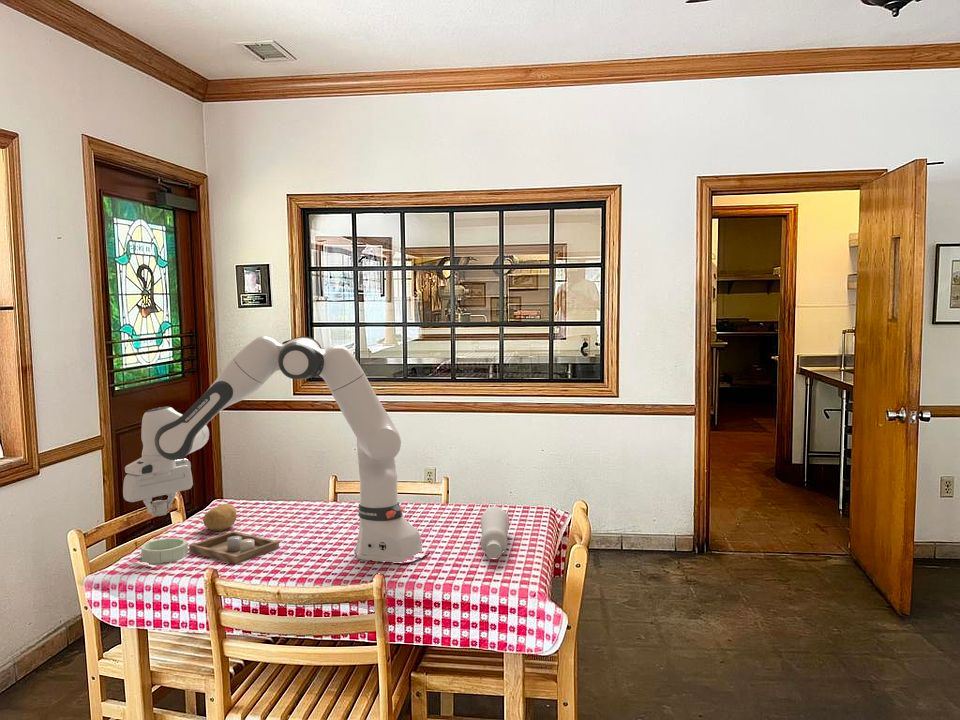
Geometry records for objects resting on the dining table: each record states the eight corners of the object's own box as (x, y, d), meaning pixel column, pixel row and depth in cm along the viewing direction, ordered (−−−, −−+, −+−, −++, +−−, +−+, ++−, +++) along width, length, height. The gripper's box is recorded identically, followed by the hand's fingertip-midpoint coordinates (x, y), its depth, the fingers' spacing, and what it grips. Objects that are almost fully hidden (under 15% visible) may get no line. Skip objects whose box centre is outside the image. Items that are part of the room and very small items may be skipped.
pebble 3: (257, 552, 207) (257, 540, 207) (246, 556, 203) (246, 543, 203) (248, 550, 209) (247, 538, 209) (237, 553, 205) (236, 541, 205)
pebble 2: (244, 549, 210) (244, 537, 209) (233, 552, 206) (233, 540, 206) (235, 546, 212) (235, 535, 212) (224, 550, 208) (224, 538, 208)
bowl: (196, 555, 206) (195, 542, 206) (159, 567, 195) (158, 553, 195) (170, 548, 212) (169, 535, 212) (132, 560, 202) (132, 546, 201)
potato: (244, 523, 238) (243, 500, 238) (226, 536, 224) (226, 511, 224) (216, 523, 239) (215, 500, 238) (196, 535, 225) (196, 511, 224)
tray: (279, 549, 211) (278, 541, 211) (235, 565, 197) (235, 556, 197) (233, 539, 221) (233, 531, 221) (189, 553, 207) (189, 545, 207)
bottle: (475, 522, 229) (471, 555, 199) (491, 499, 228) (489, 529, 198) (498, 537, 229) (498, 573, 199) (514, 514, 228) (516, 547, 198)
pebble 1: (170, 513, 204) (170, 501, 204) (157, 516, 201) (157, 504, 201) (161, 511, 206) (161, 499, 206) (149, 514, 203) (149, 502, 203)
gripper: (183, 456, 213) (184, 501, 214) (119, 468, 196) (120, 517, 197) (197, 458, 210) (197, 504, 211) (132, 470, 193) (134, 520, 193)
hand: (159, 510), depth 204 cm, fingers closed on pebble 1, 4 cm apart
